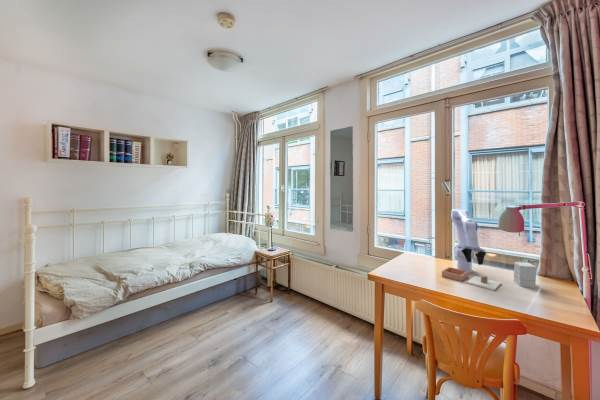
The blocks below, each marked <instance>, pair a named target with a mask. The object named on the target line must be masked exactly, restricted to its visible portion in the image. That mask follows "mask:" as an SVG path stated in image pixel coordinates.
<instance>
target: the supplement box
mask: <svg viewBox="0 0 600 400" xmlns="http://www.w3.org/2000/svg"><path fill="white" fill-rule="evenodd" d="M513 266H514V267H513V269H514V270H513V282H514V283H515V284H516V285H518V286H519V287H525V288H533V289H534V288H536V282H537V266H535V265H534V264H532V263H530V262H523V261H522V262H521V261H514V265H513Z"/></svg>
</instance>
